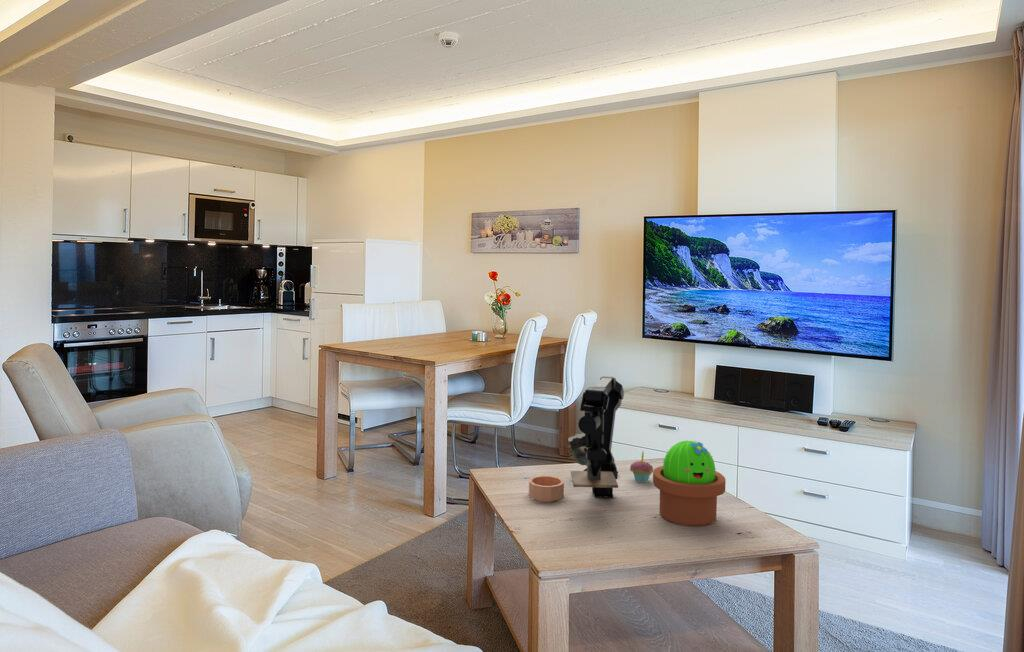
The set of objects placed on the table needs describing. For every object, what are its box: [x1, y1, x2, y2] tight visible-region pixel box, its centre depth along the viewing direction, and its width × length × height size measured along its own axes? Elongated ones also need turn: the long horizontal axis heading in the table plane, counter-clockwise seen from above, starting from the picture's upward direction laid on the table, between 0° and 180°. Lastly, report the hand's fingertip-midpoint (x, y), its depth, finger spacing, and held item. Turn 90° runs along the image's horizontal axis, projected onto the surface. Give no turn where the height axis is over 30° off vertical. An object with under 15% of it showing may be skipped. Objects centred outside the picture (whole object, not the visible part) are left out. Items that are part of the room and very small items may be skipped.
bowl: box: [528, 475, 565, 502], centre depth 218 cm, size 12×12×5 cm
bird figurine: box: [563, 445, 619, 474], centre depth 241 cm, size 13×10×20 cm
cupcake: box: [629, 451, 654, 483], centre depth 235 cm, size 9×8×12 cm
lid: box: [570, 461, 619, 489], centre depth 205 cm, size 14×14×6 cm
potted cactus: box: [652, 440, 727, 527], centre depth 200 cm, size 22×22×25 cm
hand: (593, 473), depth 205 cm, fingers closed on lid, 4 cm apart
